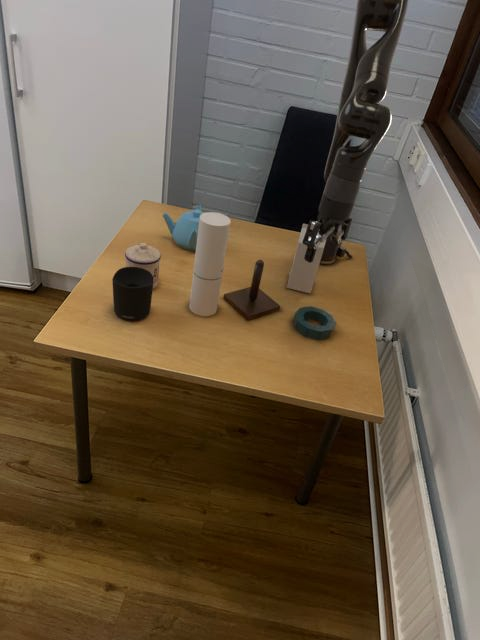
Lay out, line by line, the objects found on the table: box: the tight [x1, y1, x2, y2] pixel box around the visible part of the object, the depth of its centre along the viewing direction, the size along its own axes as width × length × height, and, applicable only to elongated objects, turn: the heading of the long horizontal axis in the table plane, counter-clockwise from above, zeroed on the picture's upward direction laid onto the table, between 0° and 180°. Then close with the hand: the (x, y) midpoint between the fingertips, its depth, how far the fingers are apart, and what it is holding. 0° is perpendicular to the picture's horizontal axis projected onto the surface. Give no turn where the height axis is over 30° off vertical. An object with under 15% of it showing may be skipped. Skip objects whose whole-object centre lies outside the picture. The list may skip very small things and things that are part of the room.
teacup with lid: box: [124, 242, 162, 290], centre depth 124 cm, size 12×9×12 cm
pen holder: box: [111, 266, 154, 322], centre depth 112 cm, size 9×9×10 cm
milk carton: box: [286, 223, 326, 294], centre depth 133 cm, size 7×7×19 cm
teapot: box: [162, 205, 204, 252], centre depth 146 cm, size 15×15×11 cm
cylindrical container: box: [189, 211, 232, 317], centre depth 114 cm, size 7×7×25 cm
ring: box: [292, 305, 337, 341], centre depth 121 cm, size 11×11×3 cm
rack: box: [223, 259, 281, 322], centre depth 122 cm, size 11×11×14 cm
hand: (319, 258), depth 115 cm, fingers open, 8 cm apart
